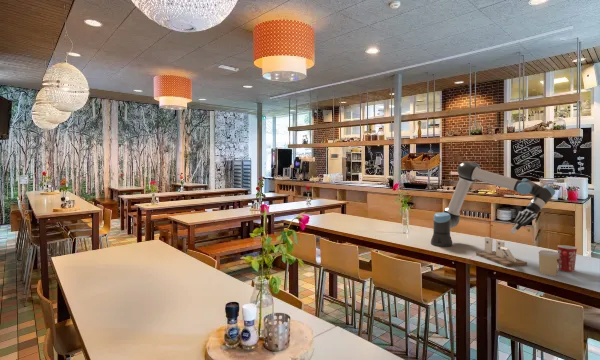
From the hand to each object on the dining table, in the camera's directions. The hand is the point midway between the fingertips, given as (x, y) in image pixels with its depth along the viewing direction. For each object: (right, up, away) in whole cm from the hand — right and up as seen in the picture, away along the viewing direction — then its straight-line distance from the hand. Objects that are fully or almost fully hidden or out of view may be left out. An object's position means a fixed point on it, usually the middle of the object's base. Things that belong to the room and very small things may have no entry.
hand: (511, 232), depth 220 cm
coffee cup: (+2, -19, -29) cm, 35 cm away
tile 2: (-10, -15, -3) cm, 18 cm away
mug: (+16, -18, -24) cm, 34 cm away
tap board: (-9, -17, -3) cm, 19 cm away
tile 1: (-12, -14, +7) cm, 20 cm away
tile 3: (-8, -16, -13) cm, 22 cm away
